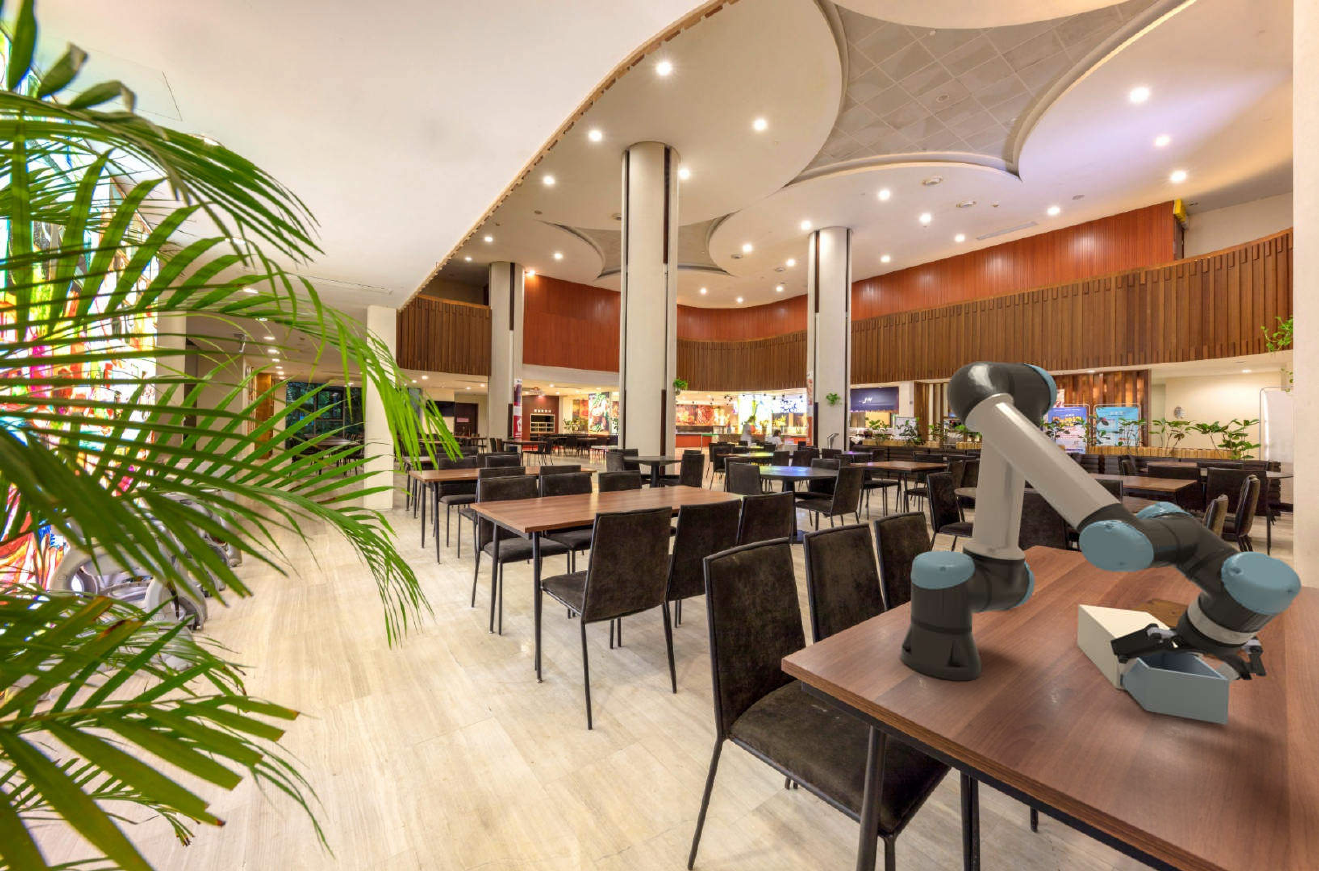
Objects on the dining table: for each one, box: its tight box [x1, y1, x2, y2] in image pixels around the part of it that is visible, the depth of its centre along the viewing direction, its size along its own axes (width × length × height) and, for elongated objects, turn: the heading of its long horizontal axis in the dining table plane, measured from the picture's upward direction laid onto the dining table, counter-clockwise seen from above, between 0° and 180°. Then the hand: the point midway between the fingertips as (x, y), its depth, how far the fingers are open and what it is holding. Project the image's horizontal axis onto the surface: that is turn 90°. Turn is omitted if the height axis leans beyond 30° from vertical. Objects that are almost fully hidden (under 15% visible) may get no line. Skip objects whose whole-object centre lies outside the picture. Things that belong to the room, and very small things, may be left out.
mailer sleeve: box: [1076, 604, 1204, 691], centre depth 110 cm, size 22×13×10 cm, turn 157°
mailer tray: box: [1120, 652, 1230, 726], centre depth 101 cm, size 22×11×8 cm, turn 157°
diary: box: [1129, 597, 1242, 663], centre depth 129 cm, size 23×19×6 cm
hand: (1167, 674), depth 97 cm, fingers open, 13 cm apart
